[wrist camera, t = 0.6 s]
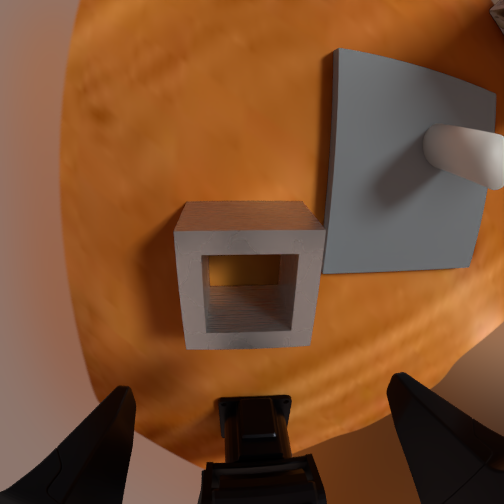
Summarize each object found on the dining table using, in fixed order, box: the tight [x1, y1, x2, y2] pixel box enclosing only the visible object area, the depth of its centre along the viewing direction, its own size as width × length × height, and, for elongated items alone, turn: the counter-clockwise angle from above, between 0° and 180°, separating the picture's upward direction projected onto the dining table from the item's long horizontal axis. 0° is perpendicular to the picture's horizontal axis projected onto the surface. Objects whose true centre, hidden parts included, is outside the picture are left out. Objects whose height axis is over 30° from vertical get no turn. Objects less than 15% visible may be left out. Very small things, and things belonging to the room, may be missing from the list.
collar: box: [174, 201, 326, 349], centre depth 18 cm, size 7×7×5 cm
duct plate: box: [321, 48, 504, 274], centre depth 16 cm, size 14×13×6 cm
